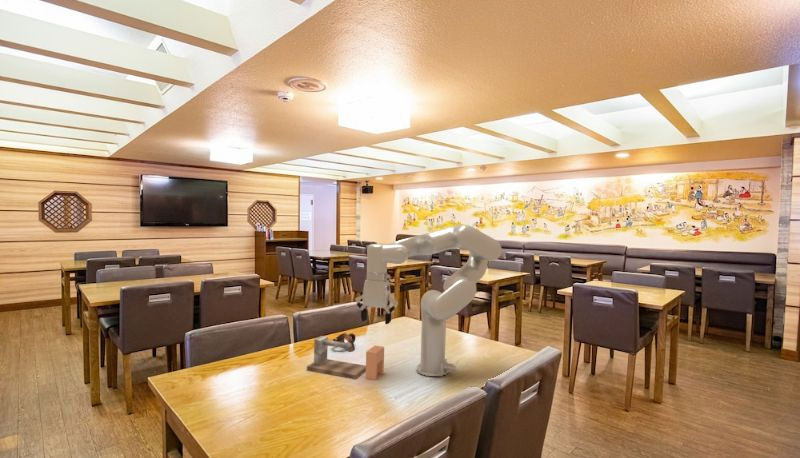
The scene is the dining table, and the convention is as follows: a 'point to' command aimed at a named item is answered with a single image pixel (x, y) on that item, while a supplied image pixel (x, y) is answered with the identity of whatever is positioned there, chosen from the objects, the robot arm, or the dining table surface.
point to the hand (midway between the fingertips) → (375, 321)
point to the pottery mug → (347, 337)
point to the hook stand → (332, 366)
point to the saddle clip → (374, 362)
